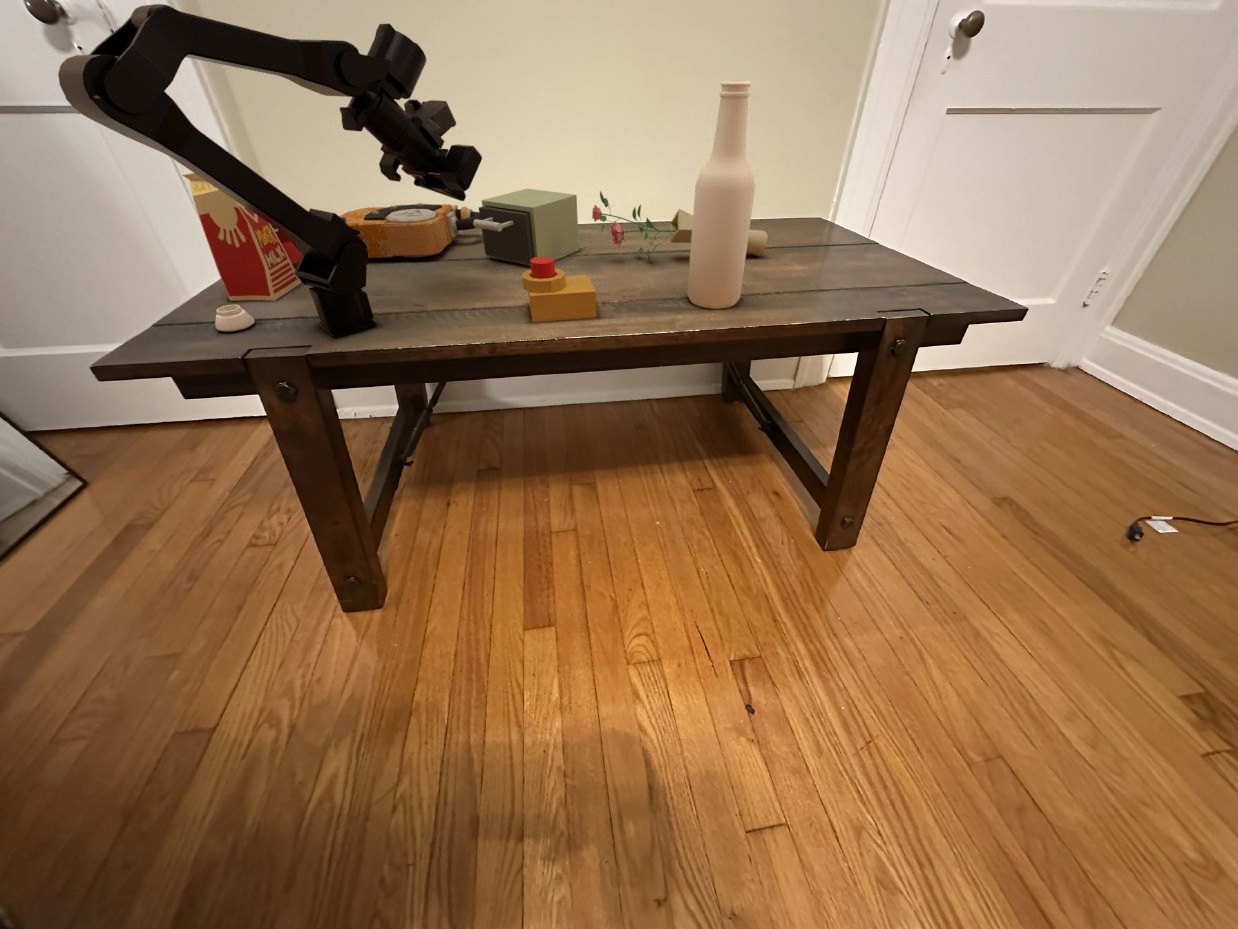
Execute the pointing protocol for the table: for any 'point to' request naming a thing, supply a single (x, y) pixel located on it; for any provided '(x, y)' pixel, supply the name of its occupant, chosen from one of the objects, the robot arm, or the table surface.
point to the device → (409, 228)
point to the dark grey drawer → (506, 233)
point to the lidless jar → (232, 318)
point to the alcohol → (723, 207)
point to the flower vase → (674, 230)
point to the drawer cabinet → (545, 220)
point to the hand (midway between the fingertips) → (463, 198)
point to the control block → (560, 297)
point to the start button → (542, 267)
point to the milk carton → (242, 246)
